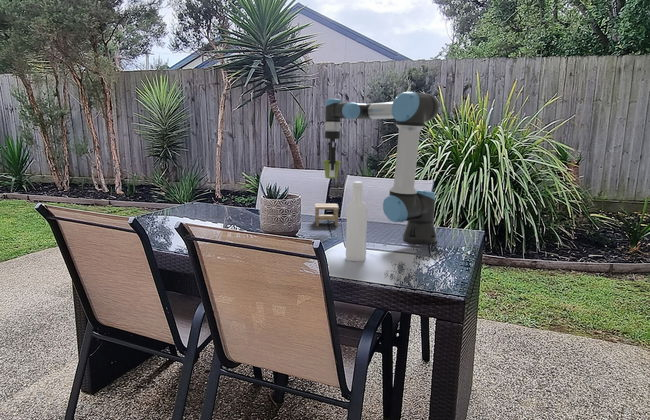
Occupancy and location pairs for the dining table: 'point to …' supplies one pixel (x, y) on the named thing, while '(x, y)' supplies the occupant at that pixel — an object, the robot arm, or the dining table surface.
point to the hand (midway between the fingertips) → (331, 175)
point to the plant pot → (327, 167)
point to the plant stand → (326, 217)
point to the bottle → (356, 226)
